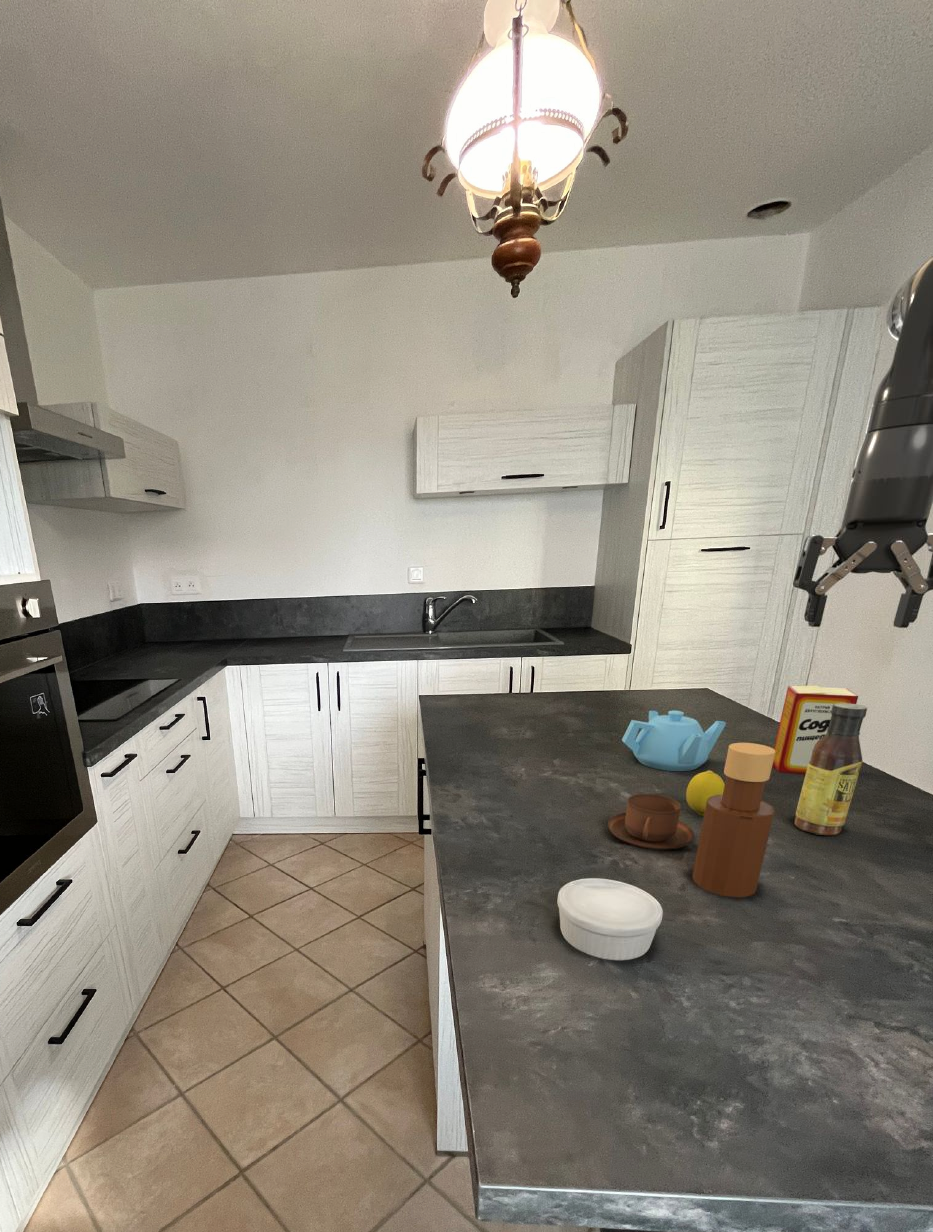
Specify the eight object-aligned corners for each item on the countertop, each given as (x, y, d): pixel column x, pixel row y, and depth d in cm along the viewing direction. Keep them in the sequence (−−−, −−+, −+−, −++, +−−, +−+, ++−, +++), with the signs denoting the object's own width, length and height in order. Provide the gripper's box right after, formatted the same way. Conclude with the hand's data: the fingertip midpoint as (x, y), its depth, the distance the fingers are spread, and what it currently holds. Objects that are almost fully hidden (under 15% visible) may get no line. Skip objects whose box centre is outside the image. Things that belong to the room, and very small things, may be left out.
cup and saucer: (702, 860, 89) (709, 821, 87) (613, 853, 92) (618, 815, 90) (680, 825, 100) (686, 790, 98) (601, 820, 103) (605, 786, 101)
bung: (760, 785, 78) (769, 744, 76) (770, 799, 74) (780, 756, 72) (717, 781, 80) (725, 741, 78) (724, 795, 76) (733, 752, 74)
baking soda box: (827, 765, 123) (847, 686, 118) (836, 776, 118) (858, 693, 112) (771, 761, 127) (788, 684, 121) (778, 771, 121) (796, 691, 116)
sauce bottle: (832, 841, 93) (868, 713, 86) (785, 828, 98) (815, 705, 91) (848, 829, 97) (883, 705, 90) (802, 817, 102) (832, 698, 94)
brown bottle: (747, 878, 84) (772, 768, 78) (760, 906, 78) (788, 788, 72) (688, 871, 87) (708, 763, 81) (696, 897, 80) (718, 782, 75)
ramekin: (630, 912, 78) (636, 875, 76) (675, 968, 67) (683, 927, 65) (541, 915, 78) (545, 878, 76) (572, 971, 67) (577, 930, 65)
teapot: (646, 746, 139) (653, 699, 135) (720, 760, 129) (729, 709, 125) (616, 763, 129) (622, 712, 125) (693, 779, 119) (702, 725, 115)
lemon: (719, 824, 100) (729, 778, 97) (681, 818, 103) (689, 773, 100) (721, 812, 104) (730, 768, 102) (684, 806, 107) (692, 763, 104)
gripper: (829, 478, 67) (795, 630, 73) (997, 467, 62) (947, 631, 68) (807, 483, 74) (778, 622, 80) (959, 474, 69) (916, 623, 75)
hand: (856, 626), depth 74 cm, fingers open, 8 cm apart
